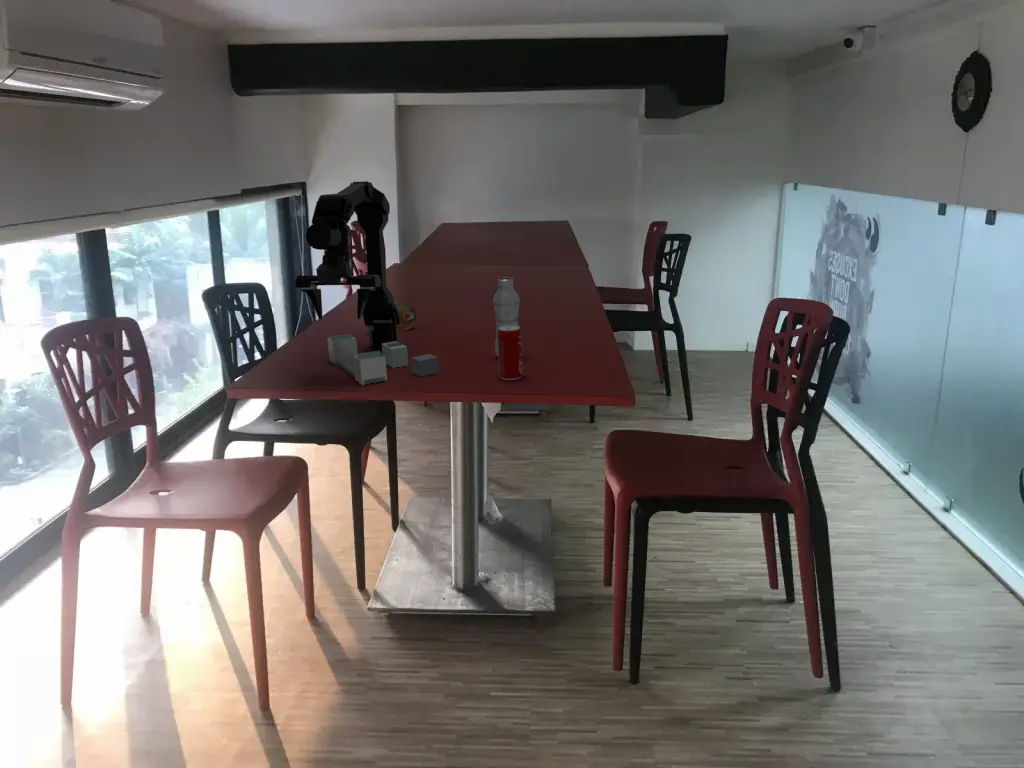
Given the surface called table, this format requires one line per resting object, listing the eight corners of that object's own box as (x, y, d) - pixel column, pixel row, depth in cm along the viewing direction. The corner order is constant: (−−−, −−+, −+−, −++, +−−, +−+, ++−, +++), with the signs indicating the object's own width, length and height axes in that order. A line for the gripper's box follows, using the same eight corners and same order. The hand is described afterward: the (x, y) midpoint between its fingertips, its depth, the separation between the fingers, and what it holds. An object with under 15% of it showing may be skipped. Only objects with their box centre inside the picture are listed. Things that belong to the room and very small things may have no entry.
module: (398, 360, 198) (396, 340, 197) (408, 366, 192) (406, 345, 191) (383, 362, 196) (381, 342, 195) (393, 369, 191) (391, 348, 189)
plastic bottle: (491, 356, 198) (487, 277, 193) (515, 352, 201) (512, 275, 195) (500, 361, 193) (497, 281, 187) (525, 358, 195) (523, 278, 189)
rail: (352, 357, 202) (349, 331, 200) (387, 381, 180) (384, 352, 178) (329, 361, 199) (326, 335, 197) (362, 385, 177) (359, 356, 175)
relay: (429, 370, 189) (428, 353, 187) (439, 373, 186) (438, 357, 184) (412, 374, 186) (411, 357, 184) (421, 377, 183) (420, 360, 181)
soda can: (523, 380, 177) (522, 328, 174) (499, 381, 177) (497, 329, 173) (521, 373, 183) (520, 323, 179) (498, 374, 182) (496, 324, 179)
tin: (367, 336, 225) (365, 307, 223) (365, 334, 228) (362, 305, 225) (417, 329, 231) (415, 301, 228) (414, 327, 234) (412, 299, 231)
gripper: (283, 250, 171) (287, 321, 173) (367, 249, 169) (369, 321, 171) (302, 251, 182) (305, 318, 184) (380, 250, 180) (382, 318, 182)
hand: (339, 319), depth 180 cm, fingers open, 9 cm apart
